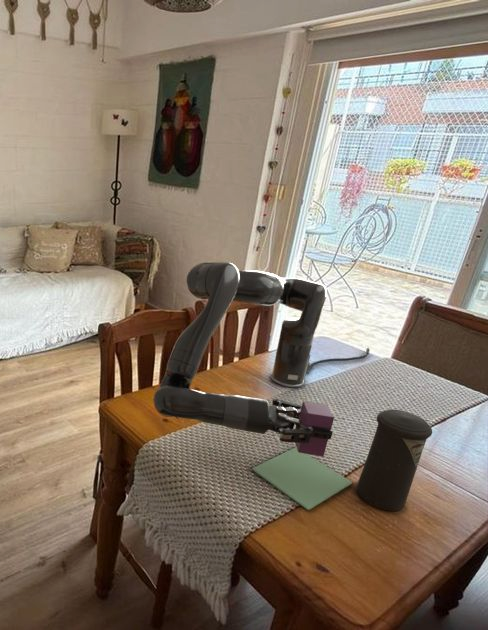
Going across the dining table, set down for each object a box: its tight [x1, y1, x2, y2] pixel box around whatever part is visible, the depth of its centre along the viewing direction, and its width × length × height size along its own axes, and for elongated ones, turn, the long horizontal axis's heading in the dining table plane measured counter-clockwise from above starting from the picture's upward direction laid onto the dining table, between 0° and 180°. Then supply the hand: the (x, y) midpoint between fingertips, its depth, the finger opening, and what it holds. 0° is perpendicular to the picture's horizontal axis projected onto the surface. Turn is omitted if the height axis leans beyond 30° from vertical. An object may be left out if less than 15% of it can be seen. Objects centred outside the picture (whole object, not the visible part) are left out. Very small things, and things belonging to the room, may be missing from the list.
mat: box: [251, 446, 353, 511], centre depth 99 cm, size 16×14×1 cm
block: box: [294, 400, 335, 458], centre depth 95 cm, size 5×5×10 cm
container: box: [356, 409, 433, 512], centre depth 90 cm, size 9×9×20 cm
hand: (327, 426), depth 94 cm, fingers closed on block, 5 cm apart
